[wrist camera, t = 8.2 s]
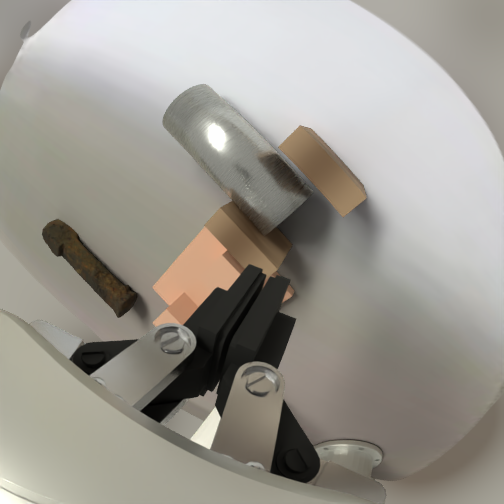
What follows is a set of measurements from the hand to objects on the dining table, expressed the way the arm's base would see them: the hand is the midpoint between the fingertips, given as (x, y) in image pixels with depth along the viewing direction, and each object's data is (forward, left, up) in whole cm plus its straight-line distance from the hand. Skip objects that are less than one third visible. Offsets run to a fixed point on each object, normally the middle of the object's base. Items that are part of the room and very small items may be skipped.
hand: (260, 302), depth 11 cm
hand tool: (+15, +27, -14) cm, 34 cm away
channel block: (+2, 0, -14) cm, 14 cm away
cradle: (0, +13, -14) cm, 19 cm away
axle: (+7, 0, -14) cm, 16 cm away
